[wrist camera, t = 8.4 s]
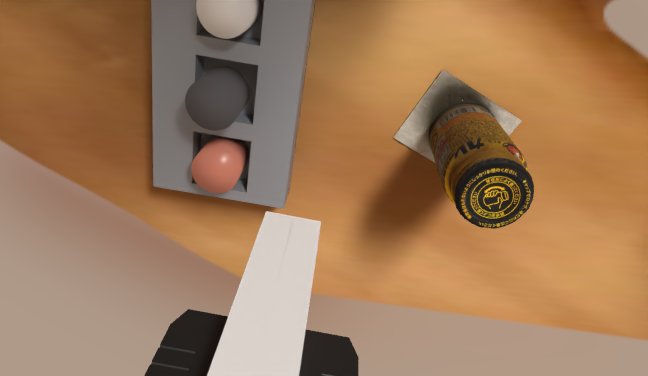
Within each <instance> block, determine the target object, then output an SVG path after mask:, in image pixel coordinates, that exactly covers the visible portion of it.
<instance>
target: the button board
mask: <svg viewBox="0 0 648 376" xmlns="http://www.w3.org/2000/svg"><path fill="white" fill-rule="evenodd" d="M196 1H197V0H151V18H152V114H153V186H154V187H160V188H166V189H171V190H177V191H183V192H189V193H195V194H201V195H207V196H212V197H218V198H224V199H230V200H236V201H242V202H248V203H253V204H259V205H265V206H271V207H277V208H283V209H284V206H285V203H286V200H287V196H288V193H289V188H290V181H291V174H292V166H293V159H294V152H295V145H296V137H297V130H298V123H299V116H300V108H301V101H302V94H303V86H304V79H305V72H306V65H307V57H308V50H309V43H310V36H311V28H312V21H313V14H314V7H315V0H261V1H262V10H261V14H260V17H259V19H258V20H257V22H256V23H255V24H254V25H253V26H251V27H250V28H249V29H247V30H246V31H245V32H243V33H242V34H240V35H239V36H237V37H234V38H230V39H224V38H219V37H216V36H214V35H212V34H211V33H209V32H208V31H207V30H206V29H205V28H204V27H203V25H202V24H201V22H200V20H199V18H198V15H197V10H196ZM217 66H229V67H232V68H234V69H236V70H238V71H239V72H240V73H241V74H242V75H243V76H244V77H245V79H246V80H247V82H248V85H249V89H250V96H249V100H248V102H247V104H246V106H245V107H244V109H243V110H242V111H241V113H240V114H239V115H238V117H237V118H236V120H235V121H234V122H233V123H232V124H231V125H230V126H229V127H227V128H225V129H222V130H217V131H213V130H208V129H205V128H202V127H200V126H199V125H197V124H196V123H195V122H194V121H193V120H192V119H191V117H190V116H189V114H188V112H187V109H186V105H185V96H186V93H187V90H188V89H189V87H190V86H191V85H192V84H193V83H194V82H195V81H197V80H198V79H199V78H200V77H201V76H203V75H204V74H205V73H206V72H208V71H209V70H210V69H212V68H214V67H217ZM214 135H217V136H223V137H229V138H235V139H241V140H242V141H243V142H244V144H245V145H246V147H247V150H248V161H247V164H246V166H245V167H244V169H243V171H242V173H241V175H240V177H239V179H238V181H237V183H236V184H235V186H234V187H233V188H232V189H230V190H229V191H227V192H224V193H212V192H209V191H206V190H204V189H203V188H201V187H200V186H199V185H198V184H197V183H196V181H195V180H194V178H193V176H192V172H191V165H192V162H193V160H194V158H195V157H196V155H197V154H198V153H199V152H200V150H201V149H202V148H203V147H204V145H205V144H206V143H207V142H208V140H209V139H210V138H211V137H212V136H214Z"/></svg>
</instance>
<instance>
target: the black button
mask: <svg viewBox="0 0 648 376" xmlns="http://www.w3.org/2000/svg"><path fill="white" fill-rule="evenodd" d="M249 96H250V89H249V85H248V82H247V80H246V79H245V77H244V76H243V75H242V74H241V73H240V72H239V71H238V70H236V69H234V68H232V67H229V66H217V67H214V68H212V69H210V70H209V71H208V72H206V73H205V74H204V75H203V76H201V77H200V78H199V79H198V80H197V81H195V82H194V83H193V84H192V85H191V86H190V87H189V89H188V90H187V93H186V96H185V105H186V109H187V112H188V114H189V116H190V117H191V119H192V120H193V121H194V122H195V123H196V124H197V125H199V126H200V127H202V128H205V129H208V130H213V131H217V130H222V129H225V128H227V127H229V126H230V125H231V124H232V123H233V122H234V121H235V120H236V118H237V117H238V115H239V114H240V113H241V111H242V110H243V109H244V107H245V106H246V104H247V102H248V100H249Z"/></svg>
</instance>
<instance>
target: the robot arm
mask: <svg viewBox="0 0 648 376" xmlns="http://www.w3.org/2000/svg"><path fill="white" fill-rule="evenodd" d="M320 226H321V221H315V220H310V219H305V218H300V217H294V216H289V215H284V214H279V213H273V212H268V211H266V213H265V216H264V219H263V221H262V224H261V227H260V230H259V233H258V235H257V238H256V241H255V244H254V246H253V249H252V252H251V255H250V258H249V260H248V263H247V266H246V269H245V271H244V274H243V277H242V280H241V283H240V286H239V289H238V291H237V294H236V297H235V299H234V302H233V305H232V308H231V311H230V313H229V316H228V317H227V316H222V315H217V314H211V313H206V312H200V311H195V310H190V309H188V310H187V311H186V312H185V313H183V314H182V315H181V316H180V317H179V318H178V319H176V320H175V321H174V322H173V323H171V324H170V326H169V328H168V330H167V332H166V334H165V336H164V338H163V340H162V342H161V344H160V348H158V350H157V352H156V354H155V356H154V358H153V360H152V363H151V365H150V366H149V368H148V370H147V372H146V374H145V376H358V356H357V354H356V352H355V349H354V347H353V345H352V343H351V341H350V339H349V338H348V337H343V336H337V335H332V334H327V333H321V332H316V331H311V330H306V323H307V316H308V309H309V302H310V295H311V289H312V282H313V275H314V268H315V261H316V254H317V247H318V240H319V233H320Z"/></svg>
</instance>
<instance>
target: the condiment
mask: <svg viewBox="0 0 648 376" xmlns="http://www.w3.org/2000/svg"><path fill="white" fill-rule="evenodd" d="M462 100H463V101H462ZM520 122H521V120H520V119H518V118H517V117H515V116H514V115H512V114H511V113H509V112H508V111H506V110H505V109H503V108H501V107H500V106H498V105H497V104H495V103H494V102H492V101H491V100H489V99H488V98H486V97H485V96H483V95H482V94H480V93H478V92H477V91H475V90H474V89H472V88H471V87H469V86H468V85H466V84H465V83H463V82H462V81H460V80H459V79H457V78H455V77H454V76H452V75H451V74H449V73H448V72H446V71H445V70H443V71H442V72H441V73H440V75H439V76H438V78H436V80H435V81H434V82H433V84H432V85H431V86H430V88H429V89H428V91H427V92H426V93H425V94H424V96H423V97H422V99H421V100H420V101H419V103H418V104H417V106H416V107H415V108H414V109H413V111H412V112H411V114H410V115H409V117H408V118H407V119H406V121H405V122H404V123H403V125H402V126H401V128H400V129H399V131H398V132H397V133H396V135H395V136H394V137H393V138H395V139H396V140H398V141H400V142H401V143H403V144H405V145H406V146H408V147H409V148H411V149H413V150H415V151H416V152H418V153H419V154H421V155H423V156H424V157H426V158H428V159H429V160H431V161H433V162H435V163H436V166H437V171H438V172H439V175H440V178H441V181H442V184H443V187H444V190H445V191H446V193H447V195H448V197H449V198H450V199H451V201H452V202H453V203H454V204H455V205H456V208H457V209H458V211H459V212H460V214H461V215H462V216H463V217H464V219H466V220H468V221H469V222H471V223H472V224H474V225H476V226H479V227H487V228H499V227H503V226H506V225H509V224H511V223H513V222H515V221H516V220H517V219H519V218H520V217H521V216H522V215H523V214H524V213H525V212H526V211H527V210H528V209H529V207H530V204H531V202H532V200H533V194H534V184H533V181H532V177H531V176H530V174H529V173H528V169H527V165H526V161H525V159H524V156H523V154H522V153H521V152H520V151H519V149H518V148H517V147H516V145H515V144H514V143H513V141H512V140H511V139H510V137H509V135H510V134H511V133H512V131H513V130H514V129H515V128H516V127H517V126H518V125H519V123H520ZM425 127H426V129H427V130H425ZM427 132H428V134H426V133H427Z"/></svg>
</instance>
